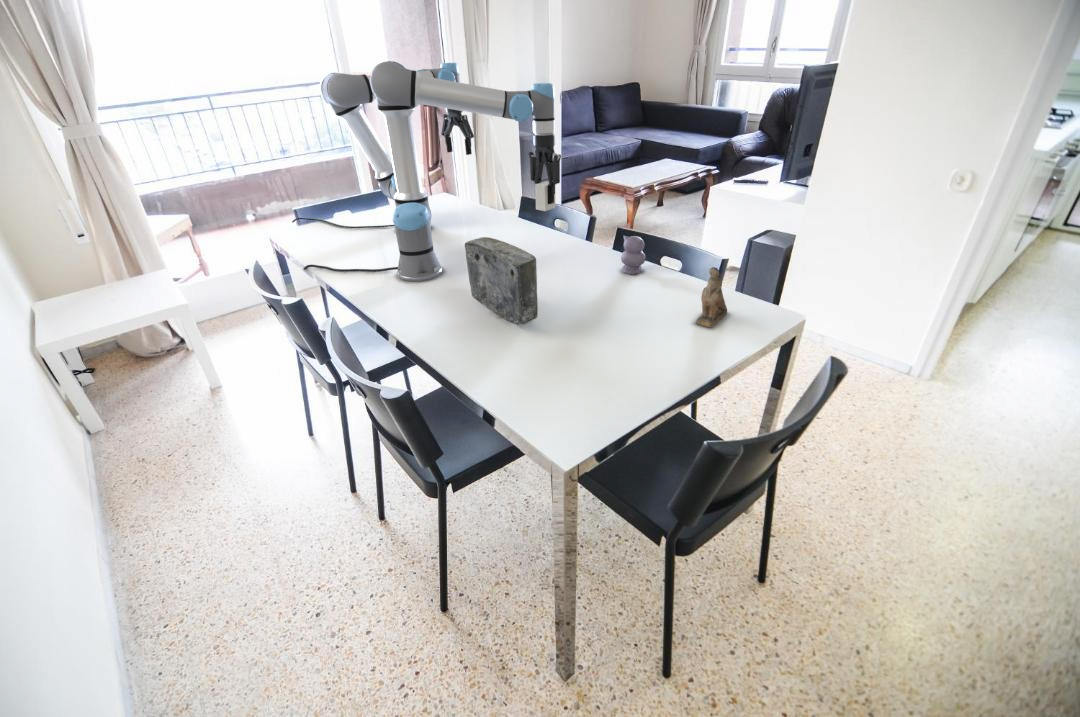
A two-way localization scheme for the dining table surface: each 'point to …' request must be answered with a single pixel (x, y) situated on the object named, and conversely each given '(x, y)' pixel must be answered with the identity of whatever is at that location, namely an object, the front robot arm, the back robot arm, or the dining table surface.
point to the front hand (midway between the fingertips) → (545, 201)
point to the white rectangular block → (543, 197)
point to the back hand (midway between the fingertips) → (459, 153)
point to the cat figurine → (633, 254)
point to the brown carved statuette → (712, 301)
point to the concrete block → (503, 279)
